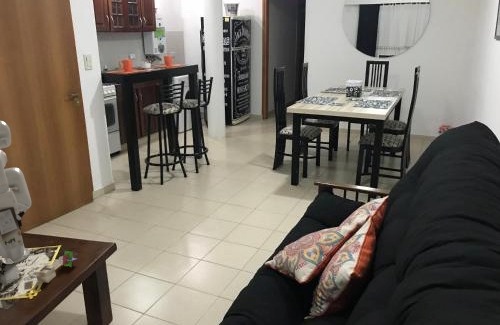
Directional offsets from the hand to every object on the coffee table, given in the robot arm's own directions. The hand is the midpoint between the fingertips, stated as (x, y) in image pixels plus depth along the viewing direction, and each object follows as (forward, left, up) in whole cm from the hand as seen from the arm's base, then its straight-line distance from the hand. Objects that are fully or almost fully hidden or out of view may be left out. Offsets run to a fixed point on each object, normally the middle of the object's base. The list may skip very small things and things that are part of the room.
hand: (8, 231), depth 152 cm
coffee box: (0, 0, -6) cm, 6 cm away
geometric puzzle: (+8, +19, -27) cm, 34 cm away
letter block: (+4, +8, -27) cm, 29 cm away
